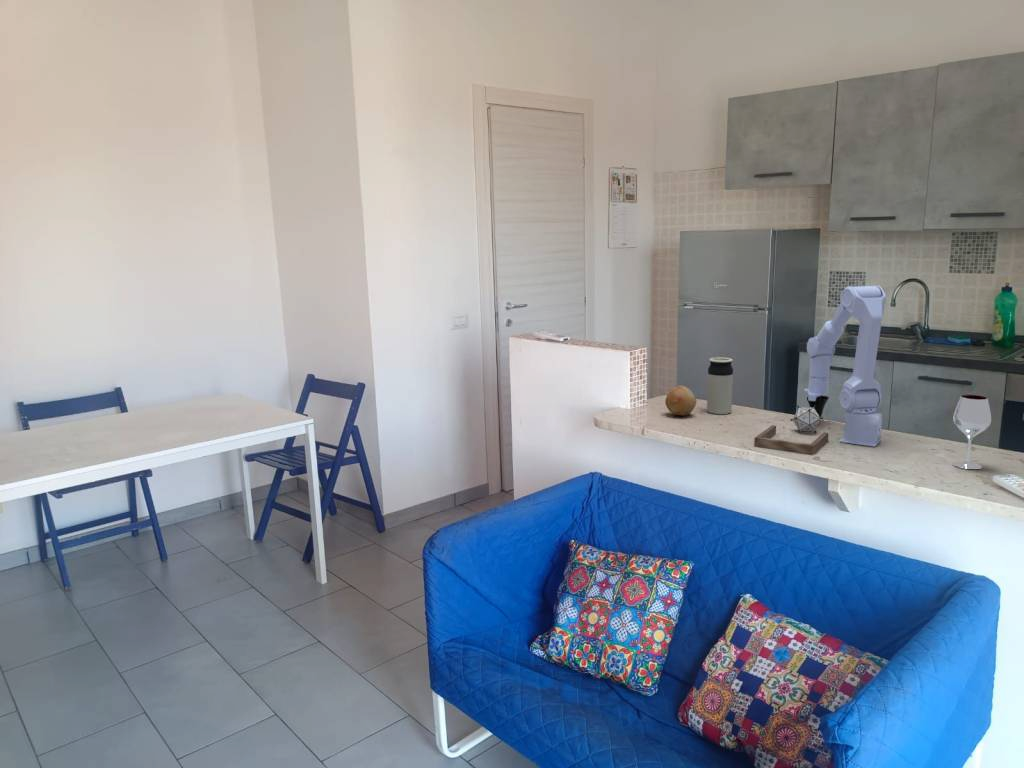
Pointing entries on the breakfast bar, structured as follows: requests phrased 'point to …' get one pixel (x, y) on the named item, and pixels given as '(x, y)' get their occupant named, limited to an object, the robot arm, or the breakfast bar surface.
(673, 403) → the onion
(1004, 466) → the breakfast bar surface
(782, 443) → the u-shaped wooden tray
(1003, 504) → the breakfast bar surface
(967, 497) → the breakfast bar surface
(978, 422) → the wineglass
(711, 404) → the travel mug
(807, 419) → the game die
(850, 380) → the robot arm
